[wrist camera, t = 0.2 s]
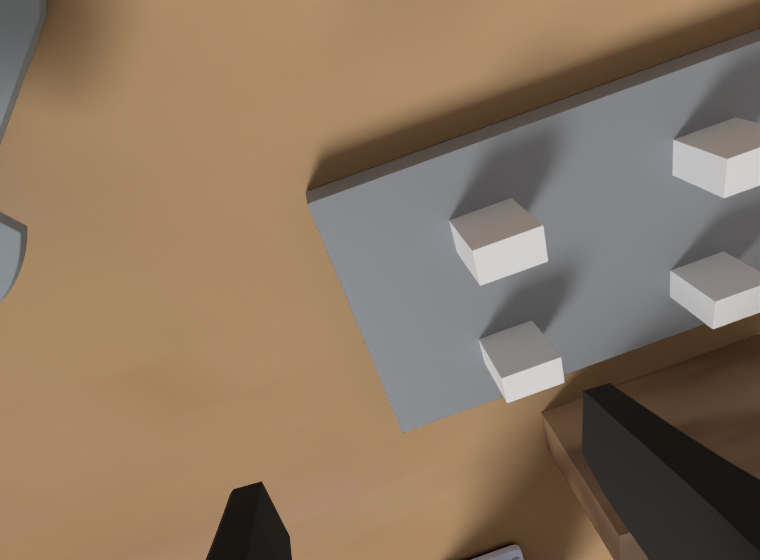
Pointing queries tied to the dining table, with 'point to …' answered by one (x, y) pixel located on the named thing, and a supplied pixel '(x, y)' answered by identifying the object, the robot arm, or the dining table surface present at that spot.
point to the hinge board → (555, 235)
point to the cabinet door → (682, 410)
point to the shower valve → (3, 83)
